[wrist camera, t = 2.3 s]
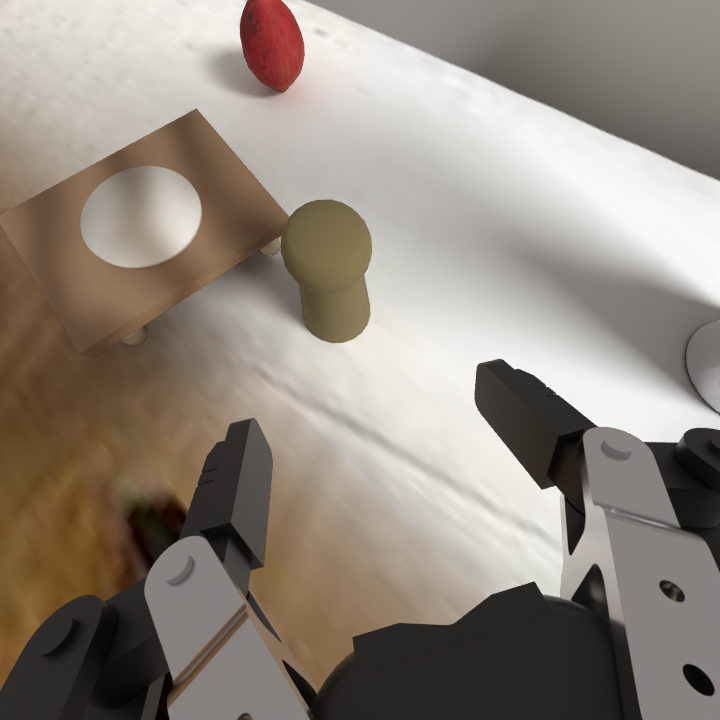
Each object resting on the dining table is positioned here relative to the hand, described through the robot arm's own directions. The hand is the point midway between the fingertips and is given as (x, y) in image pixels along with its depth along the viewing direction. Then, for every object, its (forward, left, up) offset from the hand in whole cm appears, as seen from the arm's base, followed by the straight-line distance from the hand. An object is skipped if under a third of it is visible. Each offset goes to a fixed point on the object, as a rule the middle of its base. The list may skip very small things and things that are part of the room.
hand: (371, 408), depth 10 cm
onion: (-15, -33, -14) cm, 39 cm away
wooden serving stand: (+4, -23, -14) cm, 27 cm away
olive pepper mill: (-4, -9, -14) cm, 17 cm away
